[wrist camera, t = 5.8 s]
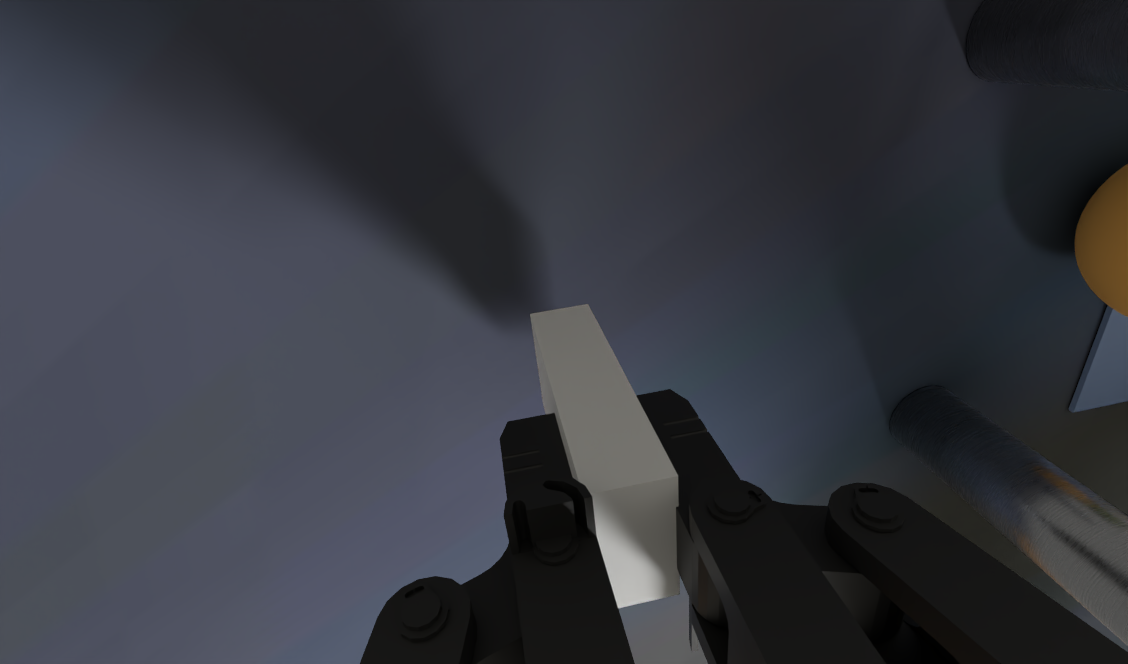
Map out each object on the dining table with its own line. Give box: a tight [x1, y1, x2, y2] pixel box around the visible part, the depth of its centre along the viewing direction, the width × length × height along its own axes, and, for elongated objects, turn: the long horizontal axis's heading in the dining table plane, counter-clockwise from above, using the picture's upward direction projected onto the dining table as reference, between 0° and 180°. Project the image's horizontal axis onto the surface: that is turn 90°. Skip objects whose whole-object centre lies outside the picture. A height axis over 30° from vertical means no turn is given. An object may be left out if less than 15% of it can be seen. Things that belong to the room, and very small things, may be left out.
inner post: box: [890, 386, 1128, 646], centre depth 17 cm, size 2×2×9 cm
